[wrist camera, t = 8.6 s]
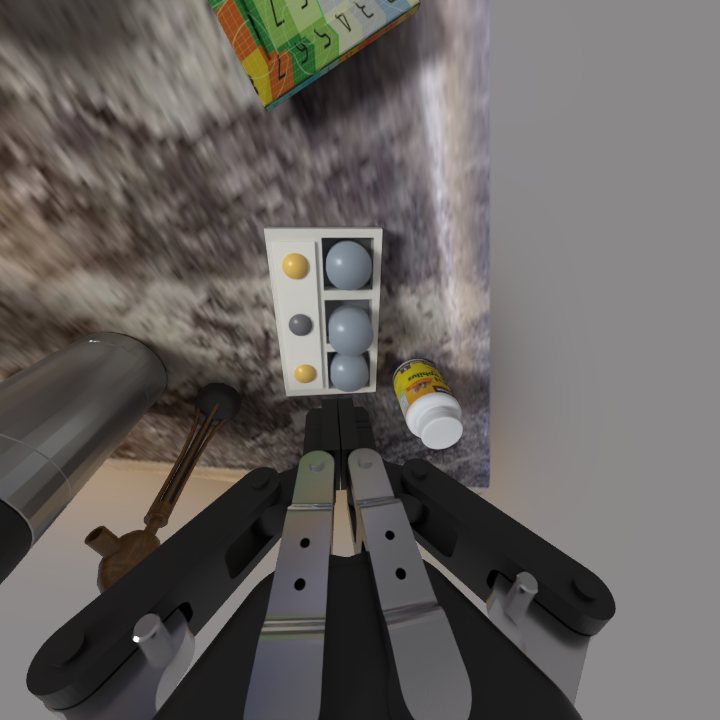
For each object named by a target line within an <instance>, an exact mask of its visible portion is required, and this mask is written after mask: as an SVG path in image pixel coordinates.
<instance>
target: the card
mask: <svg viewBox="0 0 720 720" xmlns="http://www.w3.org/2000/svg"><path fill="white" fill-rule="evenodd" d="M271 244H272V252H273V261H274V269H275V277H276V285H277V293H278V301H279V309H280V317H281V325H282V333H283V341H284V349H285V357H286V365H287V373H288V381H289V389H290V390H302V389H323V377H322V361H321V344H320V327H319V310H318V293H317V276H316V259H315V242H314V241H272V242H271Z"/></svg>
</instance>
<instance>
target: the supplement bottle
mask: <svg viewBox="0 0 720 720" xmlns="http://www.w3.org/2000/svg"><path fill="white" fill-rule="evenodd" d="M393 386H394V390H395V392H396V395H397V398H398V401H399V404H400V406H401V409H402V412H403V415H404V418H405V420H406V423H407V426H408V428H409V429H410V431H411V432H412V433H413V434H414V435H416V436H418V437H420V438H421V439H422V441H423V443H424V444H425V445H426V446H427V447H429V448H432V449H444V448H447V447H450V446H452V445H453V444H455V443H456V442H457V441H458V440H459V439H460V437H461V435H462V432H463V427H462V424H461V422H460V418H461V408H460V405H459V403H458V402H457V400H456V398H455V397H454V395H453V394H452V392H451V391H450V389H449V388H448V386H447V385H446V383H445V382H444V380H443V379H442V377H441V375H440V374H439V372H438V371H437V369H436V368H435V367H434V365H433V364H431V363H430V362H428V361H426V360H423V359H413V360H409V361H407V362H405V363H403V364H402V365H401V366H399V367H398V369H397V370H396V372H395V374H394V376H393Z"/></svg>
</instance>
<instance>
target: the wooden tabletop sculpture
mask: <svg viewBox="0 0 720 720" xmlns="http://www.w3.org/2000/svg"><path fill="white" fill-rule="evenodd" d="M240 403H241V398H240V396H239V395H238V393H237V391H236V390H235V389H234V388H232V387H230V386H228V385H226V384H224V383H210V384H208V385H207V386H205V387H204V388H202V389H201V390H200V391H199V392H198V394H197V397H196V402H195V412H196V417H195V421H194V424H193V426H192V429H191V432H190V434H189V437H188V439H187V441H186V443H185V445H184V447H183V449H182V452H181V454H180V456H179V457H178V459H177V461H176V463H175V465H174V467H173V468H172V470H171V472H170V474H169V476H168V478H167V479H166V481H165V483H164V485H163V486H162V488H161V490H160V492H159V493H158V495H157V497H156V499H155V501H154V502H153V504H152V506H151V507H150V509H149V511H148V513H147V515H146V516H145V517H144V523H145V524H146V525H147V526H146V528H145V530H136V531H132V532H130V533H127V534H125V535H123V536H121V537H120V538H118V537H117V536H115V535H114V534H113V533H112V532H111V531H109V530H108V529H107V528H106V527H105V526H100V527H98V528H96V529H94V530H93V531H92V532H91V533H90V534H89V535H88V536H87V537H86V539H85V544H87V545H88V546H89V547H91V548H92V549H93V550H95V551H96V552H97V553H99V554H100V555H101V556H103V558H102V560H101V562H100V564H99V569H98V578H97V586H98V588H99V591H100V593H101V594H102V593H103V592H104V591H106V590H107V589H108V588H109V587H110V586H112V585H113V584H114V583H115V582H117V581H118V580H119V579H120V578H121V577H123V576H124V575H125V574H126V573H127V572H129V571H130V570H131V569H132V568H134V567H135V566H136V565H137V564H138V563H140V562H141V561H142V560H143V559H144V558H146V557H147V556H148V555H149V554H151V553H152V552H153V551H154V550H155V549H157V548H158V547H159V546H160V545H161V544H160V540H159V539H158V538H157V537H156V536H155V534H156V533H157V531H158V529H159V528H162V527H164V526H166V525H167V524H168V519H169V517H170V515H171V513H172V511H173V508H174V506H175V504H176V502H177V500H178V498H179V496H180V494H181V492H182V490H183V488H184V486H185V484H186V482H187V480H188V478H189V476H190V474H191V473H192V471H193V469H194V467H195V465H196V463H197V461H198V459H199V457H200V456H201V454H202V452H203V451H204V449H205V447H206V446H207V444H208V442H209V441H210V440H211V438H212V437H213V435H214V434H215V432H216V431H217V430H218V428H219V427H220V426H221V425H222V424H224V423H226V422H227V421H229V420H230V419H232V418H233V417H235V415H236V414H237V413H238V410H239V407H240ZM199 418H200V420H201V421H202V422H203V424H202V426H201V428H200V430H199V431H198V433H197V435H196V437H195V439H194V440H193V442H192V444H191V446H190V448H189V450H188V451H187V448H188V446H189V444H190V442H191V440H192V437H193V435H194V432H195V429H196V426H197V424H198V420H199ZM211 425H217V426H216V427H215V428H214V429H213V431H212V432H211V433H210V435H209V436H208V438H207V439H206V440H205V442H204V443H203V445H202V447H201V448H200V446H201V444H202V442H203V440H204V438H205V436H206V434H207V432H208V430H209V428H210V426H211ZM199 448H200V450H199ZM198 450H199V452H198ZM186 451H187V453H186ZM197 452H198V453H197ZM185 453H186V455H185ZM196 454H197V455H196ZM184 455H185V457H184ZM195 456H196V457H195ZM183 457H184V459H183ZM182 459H183V460H182ZM181 461H182V462H181ZM180 463H181V464H180ZM179 464H180V466H179ZM178 466H179V468H178ZM177 468H178V470H177ZM176 470H177V471H176ZM175 472H176V473H175ZM174 474H175V475H174ZM173 476H174V477H173ZM172 478H173V479H172ZM170 481H171V482H170ZM169 483H170V484H169ZM168 485H169V486H168ZM167 487H168V488H167ZM166 489H167V490H166ZM165 490H166V491H165ZM164 492H165V493H164ZM163 494H164V495H163ZM162 496H163V497H162ZM161 498H162V499H161Z"/></svg>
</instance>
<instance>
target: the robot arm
mask: <svg viewBox="0 0 720 720" xmlns="http://www.w3.org/2000/svg"><path fill="white" fill-rule="evenodd" d="M166 382H167V376H166V372H165V369H164V367H163V365H162V363H161V361H160V360H159V358H158V357H157V356H156V355H155V354H154V353H153V352H152V351H151V350H150V349H149V348H148V347H146V346H145V345H143V344H142V343H140V342H139V341H137V340H134V339H132V338H130V337H128V336H124V335H121V334H117V333H109V332H99V333H93V334H89V335H86V336H84V337H82V338H80V339H79V340H77V341H75V342H73V343H71V344H70V345H68V346H66V347H64V348H62V349H60V350H59V351H57V352H55V353H53V354H51V355H49V356H47V357H46V358H44V359H42V360H40V361H38V362H37V363H35V364H33V365H31V366H29V367H28V368H26V369H24V370H22V371H21V372H19V373H17V374H15V375H13V376H12V377H10V378H8V379H6V380H4V381H3V382H1V383H0V584H1V583H2V582H3V581H4V580H5V579H6V577H8V575H9V574H10V573H11V572H12V571H13V570H14V568H15V567H16V566H17V565H18V564H19V562H20V561H21V560H22V559H23V557H25V555H26V554H27V553H28V551H29V550H30V549H31V548H32V547H33V546H34V544H35V543H36V542H37V541H38V540H39V539H40V537H41V536H42V535H43V534H44V533H45V531H46V530H47V529H48V528H49V527H50V526H51V524H52V523H53V522H54V521H55V520H56V518H57V517H58V516H59V515H60V513H62V511H63V510H64V509H65V508H66V507H67V505H68V504H69V503H70V502H71V500H72V499H73V498H74V497H75V496H76V494H77V493H78V492H79V491H80V490H81V489H82V487H83V486H84V485H85V484H86V482H87V481H88V480H89V479H90V478H91V477H92V476H93V475H94V473H95V472H96V471H97V470H98V469H99V467H100V466H101V465H102V464H103V463H104V462H105V460H106V459H107V458H108V457H109V456H110V455H111V453H112V452H113V451H114V450H115V449H116V447H117V446H118V445H119V444H120V443H121V442H122V440H123V439H124V438H125V437H126V436H127V435H128V433H129V432H130V431H131V430H132V429H133V427H134V426H135V425H136V424H137V423H138V422H139V420H140V419H141V418H142V417H143V416H144V415H145V414H146V412H147V411H148V410H149V409H150V408H151V406H152V405H153V404H154V403H155V402H156V401H157V399H158V398H159V397H160V396H161V394H162V393H163V392H164V390H165V387H166ZM340 479H341V490H347V510H348V516H349V522H350V528H351V534H352V540H353V546H354V554H355V555H354V556H351V557H342V556H336V555H332V554H333V530H334V505H335V503H336V490H340ZM281 537H282V538H281ZM280 538H281V543H280V548H279V554H278V558H277V563H276V569H275V571H274V572H272V573H271V574H269V575H268V576H266V577H265V578H264V579H263V580H262V581H260V583H259V584H258V585H257V586H256V587H255V588H254V589H253V590H252V591H251V592H250V594H249V595H248V596H247V597H246V599H245V600H244V601H243V603H242V604H241V605H240V607H239V608H238V609H237V610H236V612H235V613H234V614H233V615H232V617H231V618H230V619H229V621H228V622H227V623H226V624H225V626H224V627H223V628H222V629H221V631H220V632H219V633H218V635H217V636H216V637H215V638H214V640H213V641H212V643H211V644H210V645H209V646H208V647H207V649H206V650H205V651H204V653H203V654H202V655H201V656H200V658H199V659H198V660H197V662H196V663H195V664H194V666H193V667H192V668H191V669H190V671H189V672H188V673H187V674H186V676H185V677H184V678H183V680H182V681H181V682H180V683H179V685H178V686H177V684H178V682H179V680H180V679H181V678H182V676H183V675H184V673H185V672H186V670H187V669H188V667H189V665H190V663H191V660H192V658H193V655H194V650H195V638H194V637H195V636H196V635H197V633H198V632H199V631H200V630H201V629H202V627H203V626H204V625H205V624H206V623H207V622H208V621H209V620H210V618H211V617H212V616H213V615H214V614H215V613H216V611H217V610H218V609H219V608H220V607H221V606H222V605H223V603H224V602H225V601H226V600H227V599H228V598H229V597H230V595H231V594H232V593H233V592H234V591H235V590H236V589H237V587H238V586H239V585H240V584H241V583H242V582H243V581H244V579H245V578H246V577H247V576H248V575H249V574H250V572H251V571H252V570H253V569H254V568H255V567H256V566H257V564H258V563H259V562H260V561H261V560H262V559H263V558H264V556H265V555H266V554H267V553H268V552H269V550H271V548H272V547H273V546H274V545H275V544H276V543H277V541H278V540H279V539H280ZM415 540H416V541H417V542H418V543H419V544H420V545H421V546H422V547H423V548H425V549H426V550H427V551H428V552H429V553H430V554H431V555H432V556H433V557H435V558H436V559H437V560H438V561H439V562H440V563H441V564H442V565H444V566H445V567H446V568H447V569H448V570H449V571H450V572H451V573H452V574H454V575H455V576H456V577H457V578H458V579H459V580H460V581H461V582H463V583H464V584H465V585H466V586H467V587H468V588H469V589H470V590H471V591H473V592H474V593H475V594H476V595H477V596H478V597H479V598H480V599H482V600H483V601H484V602H485V603H486V608H487V612H488V615H489V618H490V620H491V621H490V620H489V619H488V618H487V617H486V616H485V615H484V614H483V613H482V612H481V611H480V610H479V609H478V608H477V607H476V606H475V605H474V604H473V603H472V602H471V601H470V600H469V599H468V598H467V597H466V596H465V595H464V594H463V593H462V592H461V591H460V590H458V589H457V588H456V587H455V586H454V585H453V584H452V583H451V582H450V581H449V580H448V579H447V578H446V577H445V576H444V575H443V574H442V573H441V572H440V571H439V570H438V569H437V568H435V567H434V566H433V565H431V564H430V563H428V562H427V561H425V560H423V559H422V558H421V555H420V552H419V550H418V546H417V543H416V541H415ZM615 609H616V608H615V602H614V599H613V596H612V594H611V592H610V591H609V589H608V588H607V586H606V585H605V584H604V583H603V582H602V580H601V579H600V578H599V577H598V576H596V575H595V574H594V573H593V572H591V571H590V570H588V569H587V568H586V567H584V566H583V565H581V564H580V563H578V562H577V561H575V560H574V559H572V558H571V557H569V556H568V555H566V554H565V553H563V552H562V551H560V550H559V549H557V548H556V547H554V546H553V545H551V544H550V543H548V542H547V541H545V540H544V539H542V538H541V537H539V536H538V535H536V534H535V533H533V532H532V531H530V530H529V529H528V528H526V527H525V526H523V525H522V524H520V523H519V522H517V521H516V520H514V519H513V518H511V517H510V516H508V515H507V514H505V513H503V512H502V511H501V510H499V509H497V508H496V507H495V506H493V505H492V504H490V503H489V502H487V501H486V500H484V499H483V498H481V497H480V496H478V495H477V494H475V493H474V492H472V491H471V490H469V489H468V488H466V487H465V486H463V485H462V484H460V483H459V482H458V481H456V480H455V479H453V478H452V477H450V476H449V475H447V474H446V473H444V472H443V471H441V470H440V469H438V468H437V467H435V466H434V465H432V464H431V463H429V462H427V461H425V460H422V459H411V460H408V461H407V462H405V463H404V465H403V466H401V465H397V464H392V463H389V462H387V461H385V460H384V459H382V458H381V456H380V455H379V454H378V453H377V450H376V445H375V441H374V436H373V432H372V428H371V423H370V418H369V414H368V412H367V411H366V410H365V409H364V408H363V407H353V400H352V397H338V398H337V401H336V398H322V408H317V409H311V410H310V411H309V412H308V414H307V415H306V425H305V438H304V451H303V457H302V459H301V460H300V462H299V464H298V465H296V466H295V467H294V468H292V469H290V470H287V471H284V472H281V473H278V472H277V471H276V470H275V469H273V468H269V467H261V468H257V469H254V470H252V471H251V472H249V473H248V474H247V475H245V476H244V477H243V478H242V479H240V480H239V481H238V482H237V483H236V484H234V485H233V486H232V487H231V488H230V489H228V490H227V491H226V492H225V493H224V494H222V495H221V496H220V497H219V498H217V499H216V500H215V501H214V502H213V503H212V504H210V505H209V506H208V507H206V508H205V509H204V510H203V511H202V512H200V513H199V514H198V515H197V516H196V517H194V518H193V519H192V520H191V521H189V522H188V523H187V524H186V525H185V526H183V527H182V528H181V529H180V530H179V531H177V532H176V533H175V534H174V535H172V536H171V537H170V538H169V539H168V540H166V541H165V542H164V543H163V544H162V545H160V546H159V547H158V548H157V549H155V550H154V551H153V552H152V553H151V554H149V555H148V556H147V557H146V558H144V559H143V560H142V561H141V562H140V563H138V564H137V565H136V566H135V567H134V568H132V569H131V570H130V571H129V572H127V573H126V574H125V575H124V576H123V577H121V578H120V579H119V580H118V581H117V582H115V583H114V584H113V585H112V586H110V587H109V588H108V589H107V590H106V591H104V592H103V593H102V594H101V595H100V596H98V597H97V598H96V599H95V600H93V601H92V602H91V603H90V604H89V605H87V606H86V607H85V608H84V609H83V610H81V611H80V612H79V613H78V614H76V615H75V616H74V617H73V618H72V619H70V620H69V621H68V622H67V623H66V624H64V625H63V626H62V627H61V628H59V629H58V630H57V631H56V632H55V633H54V634H53V635H52V636H51V637H50V638H49V639H48V640H47V641H46V642H45V643H44V644H43V645H42V647H41V648H40V649H39V651H38V652H37V654H36V655H35V657H34V659H33V660H32V662H31V665H30V667H29V670H28V673H27V679H26V683H27V687H28V690H29V691H30V692H31V693H32V694H33V695H35V696H36V697H37V698H39V699H40V700H41V701H43V703H44V705H45V707H46V708H47V709H48V710H49V711H51V712H52V713H53V714H54V715H56V716H57V717H58V718H60V719H61V720H582V718H581V716H580V714H579V713H578V712H577V710H576V709H575V707H574V703H575V699H576V694H577V690H578V686H579V682H580V678H581V673H582V669H583V665H584V660H585V657H586V652H587V648H588V644H589V642H590V641H591V640H592V639H593V638H594V637H595V636H596V635H597V634H598V632H599V631H600V630H601V629H602V628H603V627H604V626H605V624H606V623H607V622H608V621H609V620H610V619H611V618H612V617H613V616H614V613H615ZM176 686H177V687H176ZM175 688H176V689H175Z"/></svg>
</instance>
